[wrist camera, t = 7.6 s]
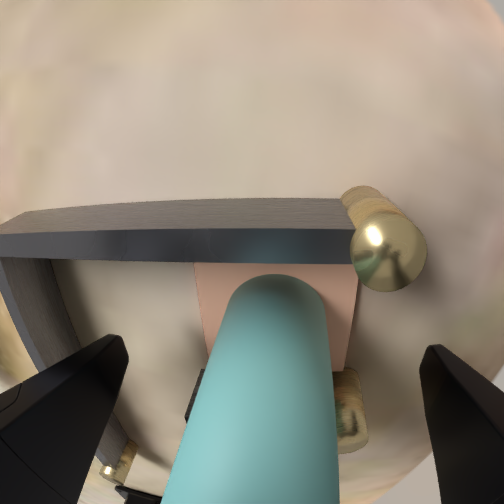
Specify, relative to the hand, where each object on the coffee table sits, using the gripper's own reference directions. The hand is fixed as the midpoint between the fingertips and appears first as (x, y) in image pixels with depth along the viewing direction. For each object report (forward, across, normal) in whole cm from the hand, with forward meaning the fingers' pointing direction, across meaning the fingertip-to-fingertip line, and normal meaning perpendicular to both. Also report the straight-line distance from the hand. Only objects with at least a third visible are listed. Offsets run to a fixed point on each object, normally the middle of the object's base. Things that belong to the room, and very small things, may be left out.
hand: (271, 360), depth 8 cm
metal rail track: (+2, +4, +4) cm, 6 cm away
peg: (+2, 0, 0) cm, 2 cm away
